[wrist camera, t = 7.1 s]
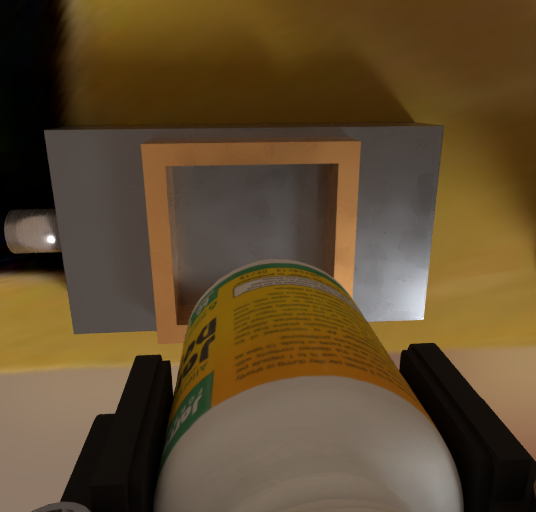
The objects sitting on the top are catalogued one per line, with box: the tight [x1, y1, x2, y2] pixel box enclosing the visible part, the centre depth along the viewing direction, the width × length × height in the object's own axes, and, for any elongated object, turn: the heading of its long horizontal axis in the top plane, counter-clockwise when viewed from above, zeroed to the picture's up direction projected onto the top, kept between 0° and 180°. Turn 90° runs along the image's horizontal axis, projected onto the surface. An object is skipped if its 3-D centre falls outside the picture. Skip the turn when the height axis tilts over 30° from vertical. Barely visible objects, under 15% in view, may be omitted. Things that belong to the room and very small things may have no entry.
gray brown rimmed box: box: [4, 122, 444, 344], centre depth 26 cm, size 23×11×6 cm, turn 90°
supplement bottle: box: [152, 259, 464, 512], centre depth 10 cm, size 5×5×10 cm
